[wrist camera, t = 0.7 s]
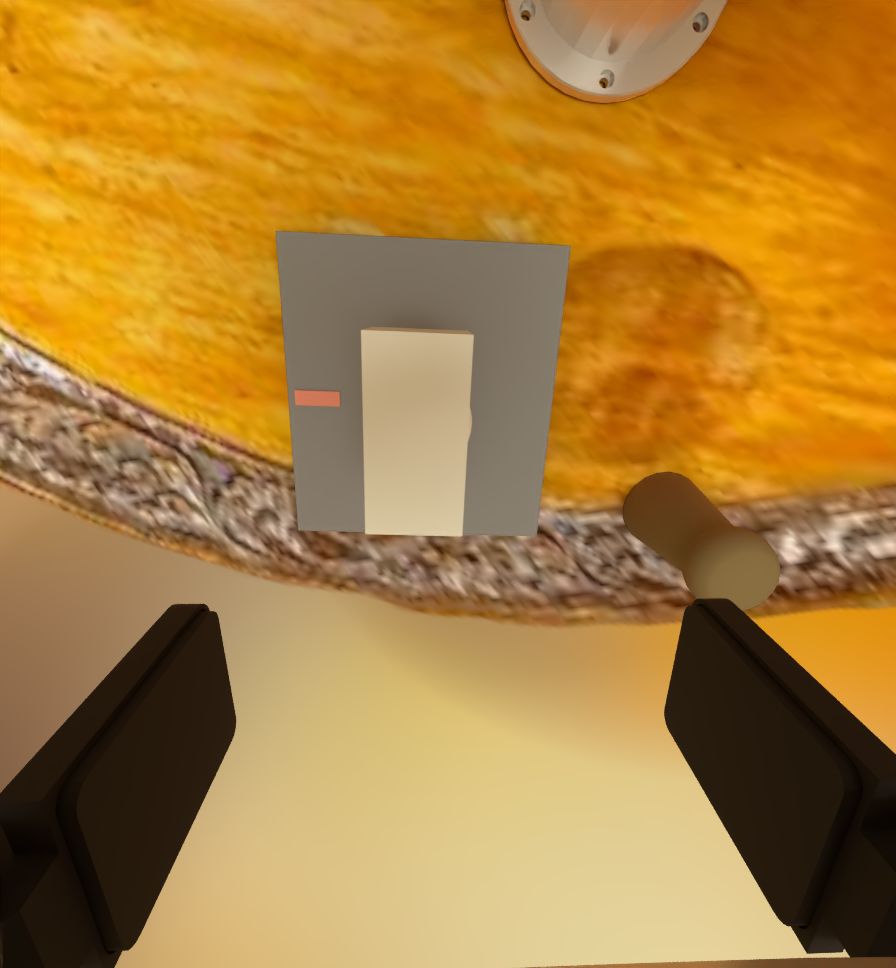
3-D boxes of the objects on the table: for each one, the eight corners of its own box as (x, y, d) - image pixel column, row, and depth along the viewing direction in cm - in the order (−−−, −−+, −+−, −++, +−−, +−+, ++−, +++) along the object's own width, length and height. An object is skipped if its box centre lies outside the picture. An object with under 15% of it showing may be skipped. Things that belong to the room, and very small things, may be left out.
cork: (646, 460, 36) (731, 522, 26) (714, 487, 37) (822, 556, 26) (609, 528, 38) (674, 611, 27) (674, 551, 39) (761, 640, 28)
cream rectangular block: (370, 324, 27) (349, 329, 21) (473, 328, 28) (485, 335, 21) (372, 492, 31) (355, 542, 24) (463, 495, 31) (471, 545, 25)
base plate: (283, 234, 30) (258, 222, 26) (564, 248, 31) (585, 239, 26) (303, 521, 37) (286, 549, 33) (532, 527, 38) (544, 555, 33)
